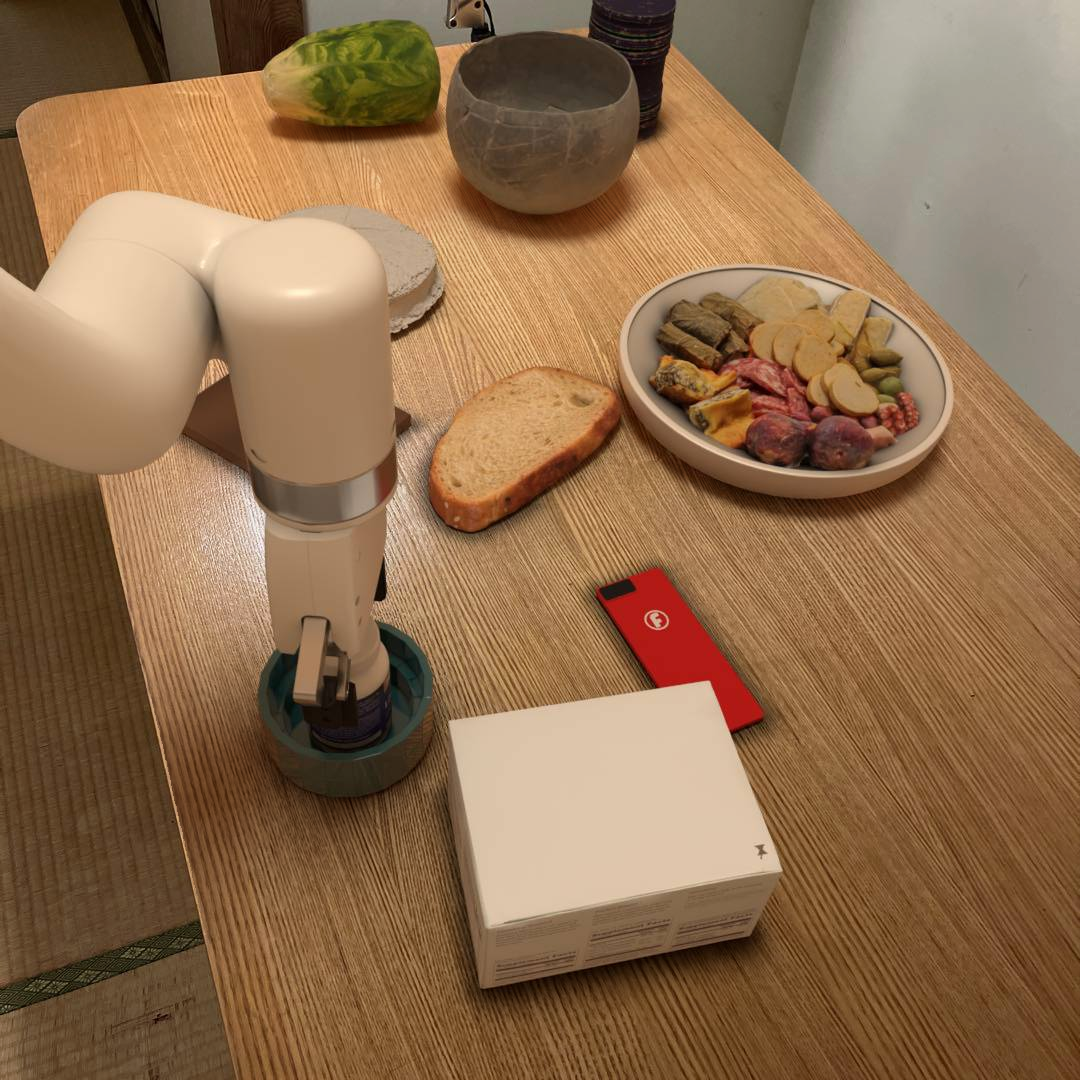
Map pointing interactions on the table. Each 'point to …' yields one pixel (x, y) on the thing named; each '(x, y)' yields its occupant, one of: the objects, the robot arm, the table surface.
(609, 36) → the dark purple ridged cylinder
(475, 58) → the bowl
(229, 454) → the walnut board
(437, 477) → the bread slice
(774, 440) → the bowl
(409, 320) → the grey pie
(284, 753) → the teal bowl
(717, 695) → the electronic device
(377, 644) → the pill bottle
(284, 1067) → the table surface
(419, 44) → the lettuce
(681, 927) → the supplement box
